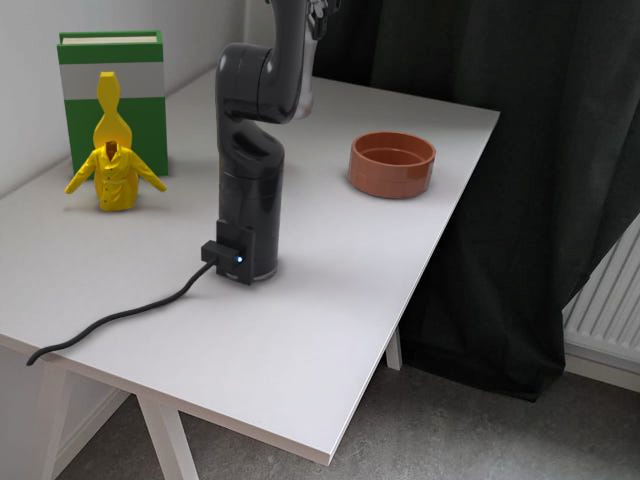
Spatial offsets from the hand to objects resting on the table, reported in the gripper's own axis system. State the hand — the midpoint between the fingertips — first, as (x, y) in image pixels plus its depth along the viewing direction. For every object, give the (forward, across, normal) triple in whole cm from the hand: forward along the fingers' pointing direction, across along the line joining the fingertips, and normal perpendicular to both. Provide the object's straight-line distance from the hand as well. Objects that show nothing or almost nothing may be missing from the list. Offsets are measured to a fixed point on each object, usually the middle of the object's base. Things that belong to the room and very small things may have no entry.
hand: (299, 35), depth 123 cm
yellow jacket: (+25, -19, -29) cm, 43 cm away
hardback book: (+25, -27, -18) cm, 41 cm away
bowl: (+25, +18, +6) cm, 31 cm away
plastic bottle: (+14, 0, 0) cm, 14 cm away
